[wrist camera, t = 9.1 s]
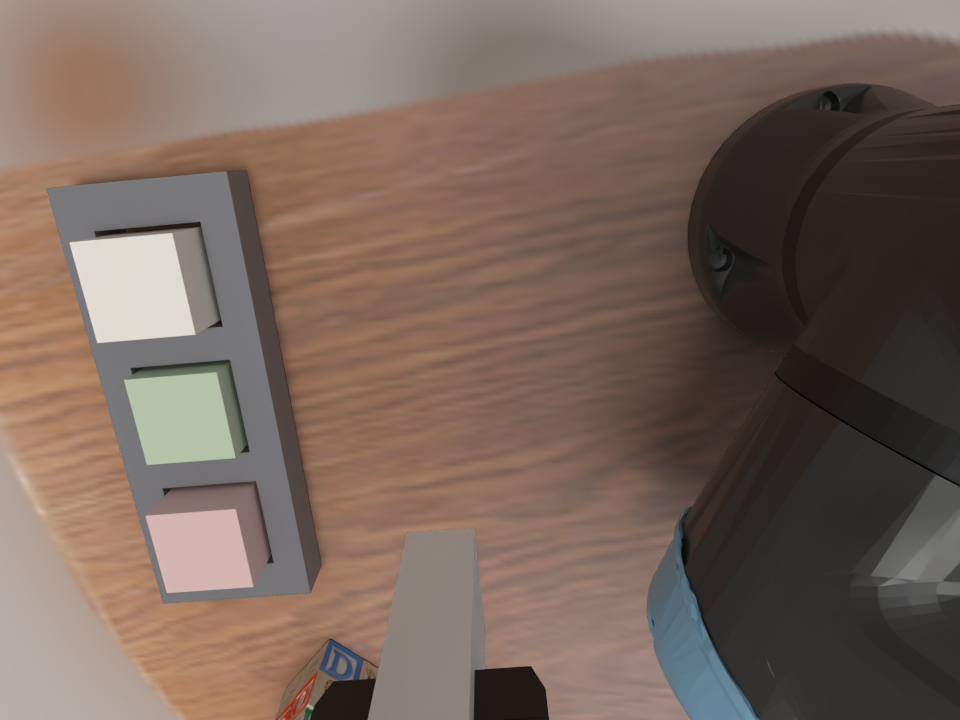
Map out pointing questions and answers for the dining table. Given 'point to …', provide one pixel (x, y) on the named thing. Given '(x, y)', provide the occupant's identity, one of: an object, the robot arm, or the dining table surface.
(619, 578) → the dining table surface
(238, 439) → the sage button
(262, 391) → the button panel
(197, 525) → the rose button
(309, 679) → the stack of blocks
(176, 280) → the white button
